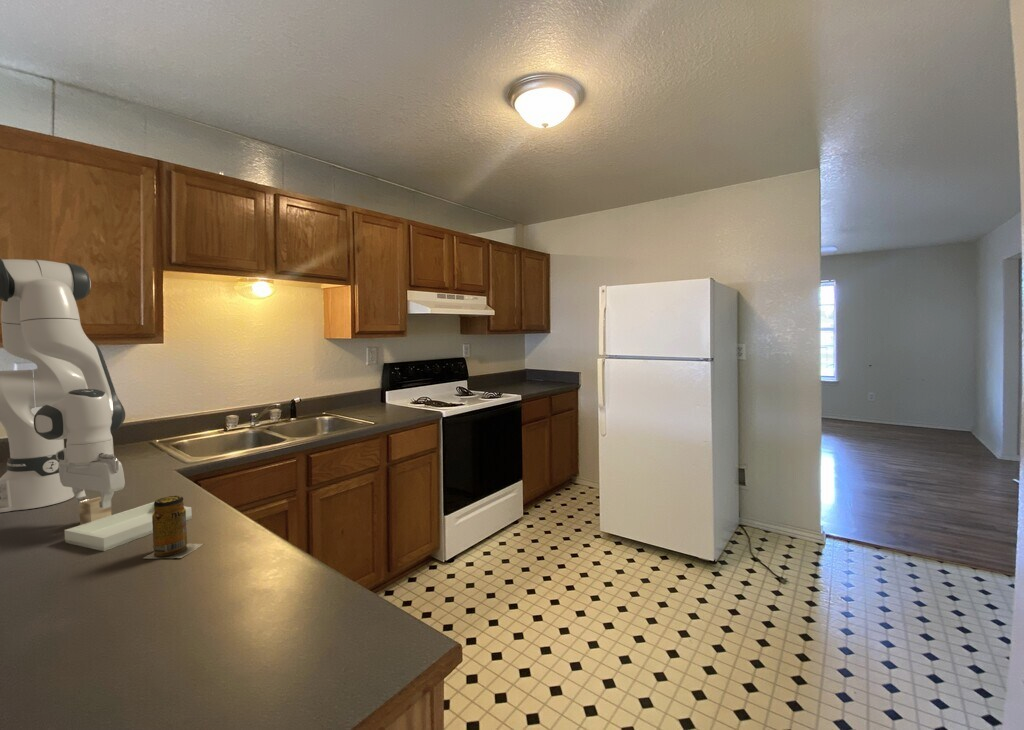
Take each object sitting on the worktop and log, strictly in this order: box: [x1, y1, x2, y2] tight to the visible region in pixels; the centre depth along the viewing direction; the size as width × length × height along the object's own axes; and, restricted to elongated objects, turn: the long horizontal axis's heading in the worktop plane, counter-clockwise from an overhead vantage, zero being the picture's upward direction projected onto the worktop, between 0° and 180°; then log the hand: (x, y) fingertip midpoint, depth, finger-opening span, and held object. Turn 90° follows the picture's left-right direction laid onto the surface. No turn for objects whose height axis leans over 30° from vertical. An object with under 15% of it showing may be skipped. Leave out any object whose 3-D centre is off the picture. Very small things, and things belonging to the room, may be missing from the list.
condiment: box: [143, 495, 204, 560], centre depth 103 cm, size 7×8×12 cm
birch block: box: [78, 496, 112, 525], centre depth 119 cm, size 4×4×6 cm
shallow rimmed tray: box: [64, 501, 193, 552], centre depth 115 cm, size 14×20×3 cm
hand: (93, 505), depth 118 cm, fingers open, 8 cm apart
